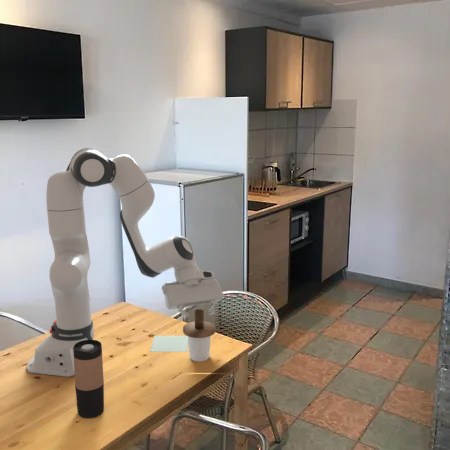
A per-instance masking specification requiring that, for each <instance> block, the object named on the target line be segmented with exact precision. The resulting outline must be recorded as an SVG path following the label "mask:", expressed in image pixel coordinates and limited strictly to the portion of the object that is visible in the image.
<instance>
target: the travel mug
mask: <svg viewBox="0 0 450 450" xmlns="http://www.w3.org/2000/svg"><path fill="white" fill-rule="evenodd" d="M102 349H103V346H102V342H101V341H99V340H96V339H93V340H84V341H80V342H78V343H76V344H75V345H74V347H73V352H74V372H75V375H74V387H75V398H76V399H75V400H76V409H77V415H78V417H80V418H82V419H87V420H88V419H94V418H97V417H99V416H101V415H102V414H103V413H104V411H105V389H104V388H105V384H104V383H105V382H104V380H105V379H104V361H103V350H102Z"/></svg>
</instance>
